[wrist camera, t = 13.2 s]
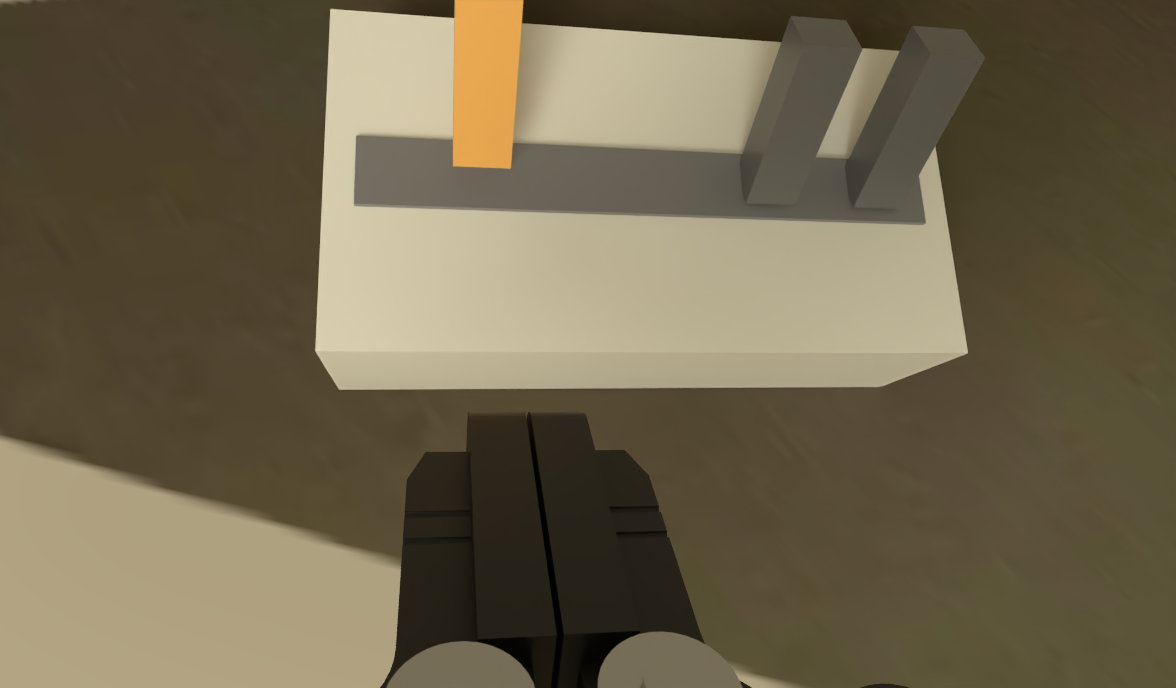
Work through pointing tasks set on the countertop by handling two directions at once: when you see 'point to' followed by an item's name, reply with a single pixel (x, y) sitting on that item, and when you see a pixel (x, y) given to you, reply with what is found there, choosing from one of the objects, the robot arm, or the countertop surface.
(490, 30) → the lever
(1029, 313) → the countertop surface
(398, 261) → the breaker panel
